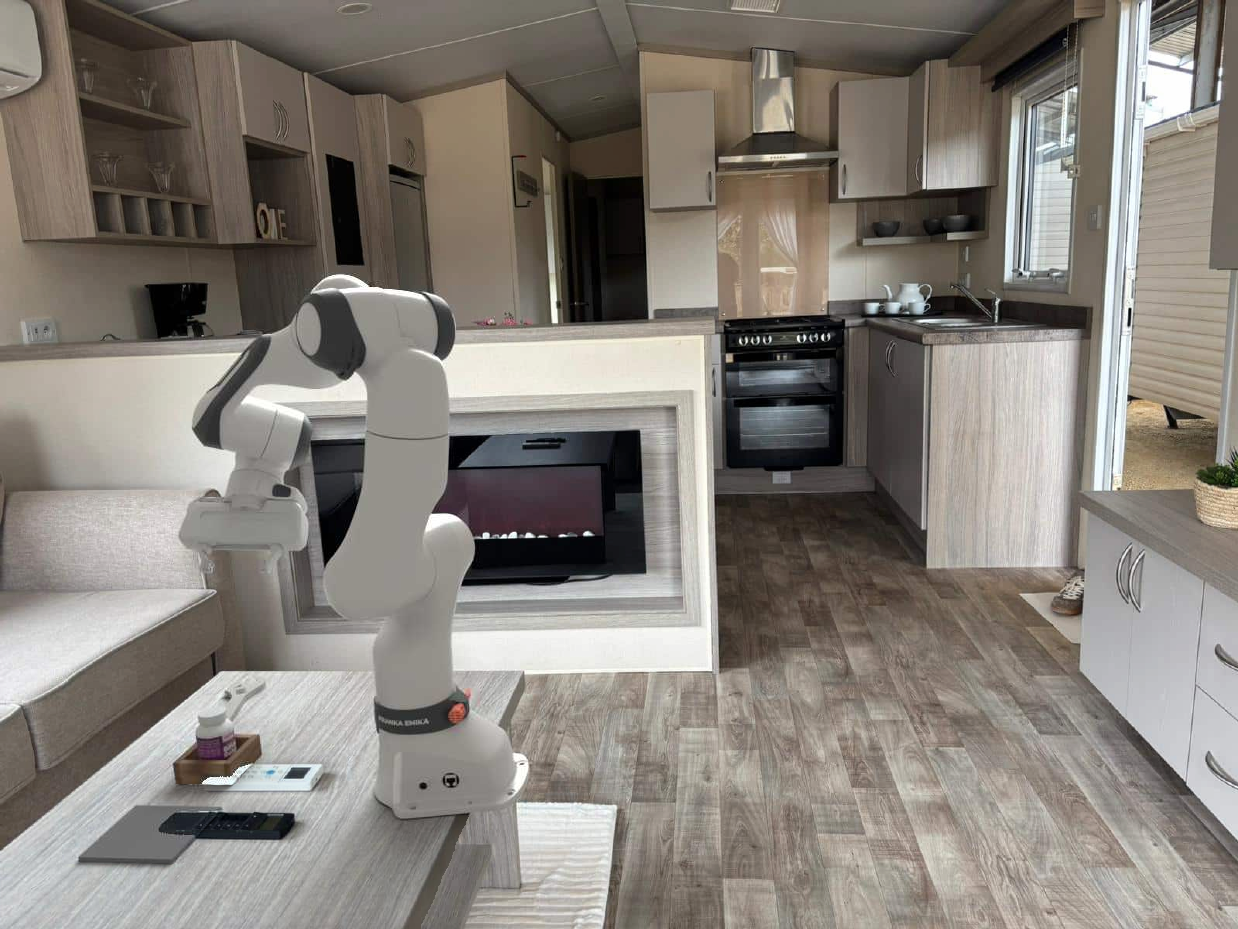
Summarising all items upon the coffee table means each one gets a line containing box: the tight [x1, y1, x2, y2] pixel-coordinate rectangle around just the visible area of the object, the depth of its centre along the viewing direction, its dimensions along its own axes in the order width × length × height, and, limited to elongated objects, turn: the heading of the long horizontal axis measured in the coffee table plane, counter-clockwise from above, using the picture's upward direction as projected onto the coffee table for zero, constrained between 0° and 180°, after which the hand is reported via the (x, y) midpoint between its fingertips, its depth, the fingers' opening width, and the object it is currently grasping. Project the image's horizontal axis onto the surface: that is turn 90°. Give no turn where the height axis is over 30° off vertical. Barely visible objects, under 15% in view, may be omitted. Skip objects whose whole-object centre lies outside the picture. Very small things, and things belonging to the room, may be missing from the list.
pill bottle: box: [194, 705, 237, 760], centre depth 139 cm, size 5×5×10 cm
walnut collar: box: [172, 733, 263, 786], centre depth 139 cm, size 9×9×4 cm
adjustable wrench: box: [223, 675, 267, 723], centre depth 159 cm, size 25×6×2 cm, turn 2°
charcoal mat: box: [77, 804, 223, 865], centre depth 123 cm, size 13×12×1 cm
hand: (234, 572), depth 147 cm, fingers open, 8 cm apart
